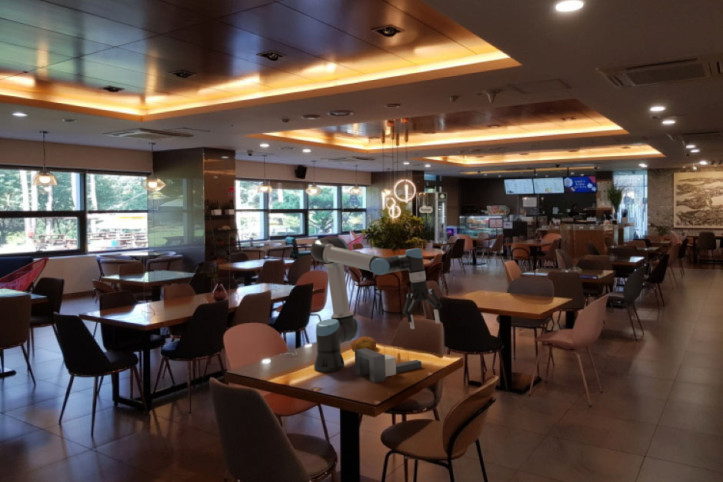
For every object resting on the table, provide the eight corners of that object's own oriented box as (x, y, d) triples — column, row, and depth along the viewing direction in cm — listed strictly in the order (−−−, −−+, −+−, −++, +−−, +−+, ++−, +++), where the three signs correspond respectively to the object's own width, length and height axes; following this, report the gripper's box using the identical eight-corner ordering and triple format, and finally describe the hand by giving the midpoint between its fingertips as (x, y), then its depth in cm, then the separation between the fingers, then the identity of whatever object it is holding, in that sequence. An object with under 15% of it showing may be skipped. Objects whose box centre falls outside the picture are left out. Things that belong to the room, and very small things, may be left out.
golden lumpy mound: (375, 349, 312) (375, 335, 313) (377, 352, 297) (376, 337, 298) (350, 349, 312) (350, 335, 313) (350, 352, 297) (350, 338, 297)
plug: (374, 373, 256) (373, 357, 256) (414, 365, 268) (414, 349, 268) (382, 377, 250) (381, 360, 250) (423, 368, 262) (422, 351, 262)
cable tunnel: (355, 374, 257) (354, 350, 256) (366, 371, 260) (365, 348, 259) (374, 382, 242) (373, 357, 242) (385, 380, 245) (384, 355, 245)
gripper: (398, 285, 245) (405, 331, 245) (445, 276, 255) (452, 321, 254) (391, 285, 252) (398, 330, 252) (437, 277, 262) (444, 320, 261)
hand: (425, 326), depth 253 cm, fingers open, 13 cm apart
